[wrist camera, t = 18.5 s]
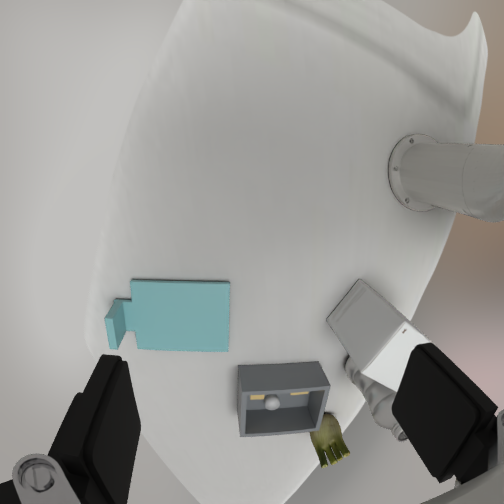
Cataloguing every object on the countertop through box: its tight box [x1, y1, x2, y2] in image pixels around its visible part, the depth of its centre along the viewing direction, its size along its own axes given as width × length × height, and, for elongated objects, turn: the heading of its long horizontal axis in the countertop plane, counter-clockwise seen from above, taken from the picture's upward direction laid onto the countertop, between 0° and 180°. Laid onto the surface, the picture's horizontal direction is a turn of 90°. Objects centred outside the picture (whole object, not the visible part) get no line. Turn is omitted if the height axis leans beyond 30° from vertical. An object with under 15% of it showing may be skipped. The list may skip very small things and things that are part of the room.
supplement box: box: [327, 279, 436, 392], centre depth 44 cm, size 9×9×15 cm
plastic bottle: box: [345, 357, 408, 442], centre depth 44 cm, size 6×7×20 cm
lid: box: [105, 280, 230, 352], centre depth 44 cm, size 18×12×7 cm, turn 88°
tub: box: [237, 361, 331, 437], centre depth 50 cm, size 14×11×7 cm
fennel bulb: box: [310, 414, 350, 468], centre depth 51 cm, size 6×5×12 cm
